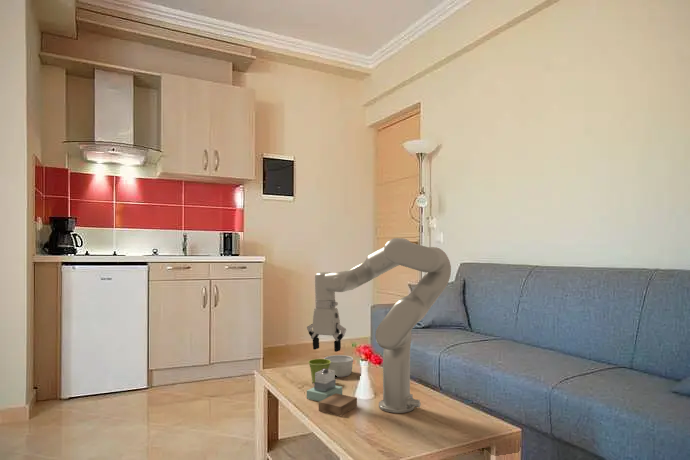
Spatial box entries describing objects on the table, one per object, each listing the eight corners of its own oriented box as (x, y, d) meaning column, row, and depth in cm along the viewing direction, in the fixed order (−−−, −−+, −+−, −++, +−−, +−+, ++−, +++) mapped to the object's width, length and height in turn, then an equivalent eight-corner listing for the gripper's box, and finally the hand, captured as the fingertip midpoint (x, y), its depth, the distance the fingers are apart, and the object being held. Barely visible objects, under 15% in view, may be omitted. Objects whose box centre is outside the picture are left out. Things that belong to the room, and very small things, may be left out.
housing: (335, 387, 177) (335, 368, 177) (325, 392, 171) (325, 372, 171) (324, 385, 179) (324, 366, 179) (314, 390, 173) (314, 370, 173)
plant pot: (330, 385, 188) (330, 364, 189) (307, 385, 189) (307, 364, 189) (331, 379, 198) (331, 358, 198) (309, 379, 198) (309, 358, 198)
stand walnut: (356, 406, 165) (356, 397, 165) (340, 415, 155) (340, 406, 155) (335, 401, 169) (335, 393, 169) (318, 410, 160) (318, 402, 160)
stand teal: (342, 394, 177) (342, 386, 177) (326, 403, 168) (326, 394, 168) (323, 390, 182) (323, 383, 182) (306, 398, 173) (306, 390, 173)
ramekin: (319, 376, 202) (319, 360, 202) (329, 368, 214) (329, 353, 214) (348, 379, 198) (348, 363, 198) (356, 371, 210) (357, 356, 210)
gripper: (349, 304, 175) (351, 349, 174) (312, 302, 184) (313, 346, 183) (339, 306, 168) (340, 354, 167) (301, 305, 177) (302, 350, 176)
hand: (326, 349), depth 175 cm, fingers open, 9 cm apart
